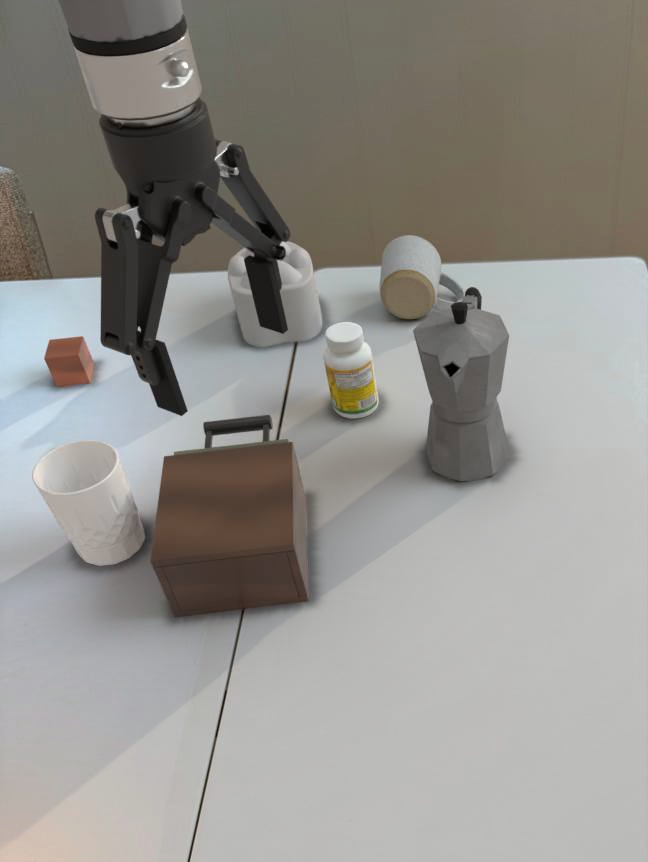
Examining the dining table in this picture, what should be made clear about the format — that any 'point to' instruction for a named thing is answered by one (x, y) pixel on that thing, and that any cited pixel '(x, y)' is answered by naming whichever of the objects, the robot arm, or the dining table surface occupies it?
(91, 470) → the white cup
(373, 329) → the dining table surface
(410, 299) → the ceramic mug
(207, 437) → the drawer
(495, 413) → the coffeepot
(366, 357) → the supplement bottle
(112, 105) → the robot arm
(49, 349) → the block
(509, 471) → the dining table surface
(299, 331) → the lumpy-topped squat cylinder
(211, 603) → the cabinet
